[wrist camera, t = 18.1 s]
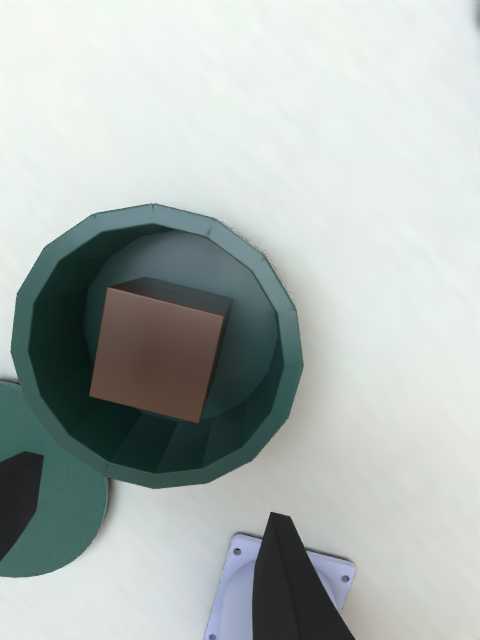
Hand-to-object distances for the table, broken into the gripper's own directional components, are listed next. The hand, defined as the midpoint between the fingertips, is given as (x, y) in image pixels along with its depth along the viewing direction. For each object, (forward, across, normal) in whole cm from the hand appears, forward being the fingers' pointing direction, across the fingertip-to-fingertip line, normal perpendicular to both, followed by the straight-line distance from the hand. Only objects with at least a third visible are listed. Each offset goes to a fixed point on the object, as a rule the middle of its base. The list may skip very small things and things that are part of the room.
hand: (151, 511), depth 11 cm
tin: (+10, +2, -3) cm, 11 cm away
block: (+10, +2, -3) cm, 11 cm away
